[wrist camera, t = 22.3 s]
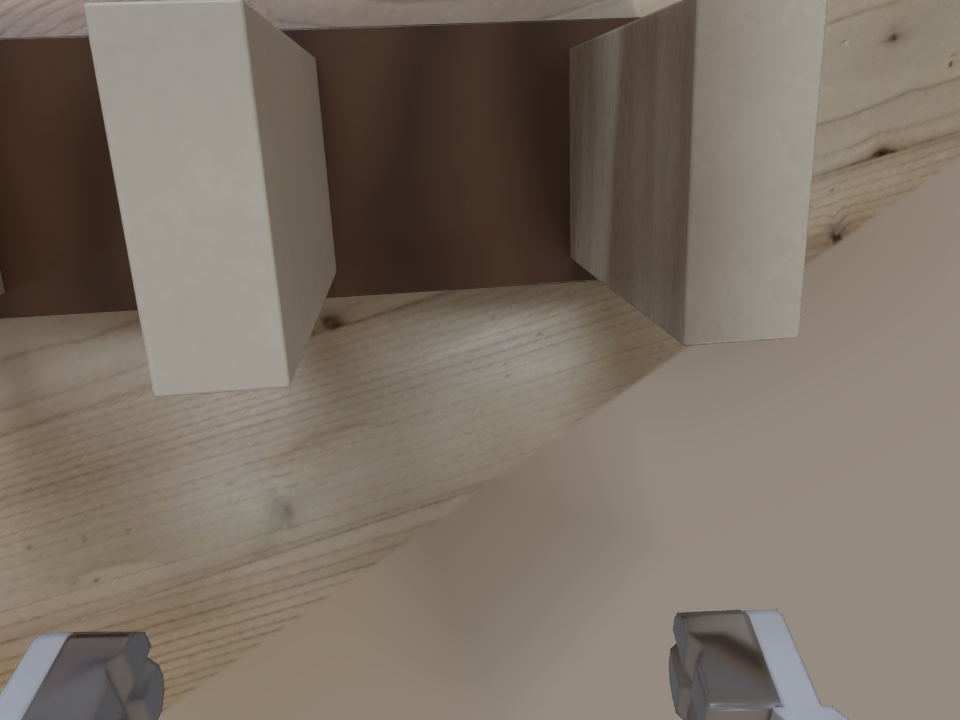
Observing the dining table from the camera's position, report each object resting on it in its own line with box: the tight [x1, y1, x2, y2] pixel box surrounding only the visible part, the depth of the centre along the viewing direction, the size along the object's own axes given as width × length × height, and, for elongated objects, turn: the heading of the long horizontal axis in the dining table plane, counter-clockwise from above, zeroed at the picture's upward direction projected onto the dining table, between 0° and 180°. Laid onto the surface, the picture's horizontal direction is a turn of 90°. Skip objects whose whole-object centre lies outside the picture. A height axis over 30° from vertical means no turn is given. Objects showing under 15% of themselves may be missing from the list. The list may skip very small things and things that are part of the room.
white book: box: [84, 0, 336, 397], centre depth 22 cm, size 3×8×14 cm, turn 2°
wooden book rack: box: [0, 0, 827, 346], centre depth 23 cm, size 28×10×14 cm, turn 92°
